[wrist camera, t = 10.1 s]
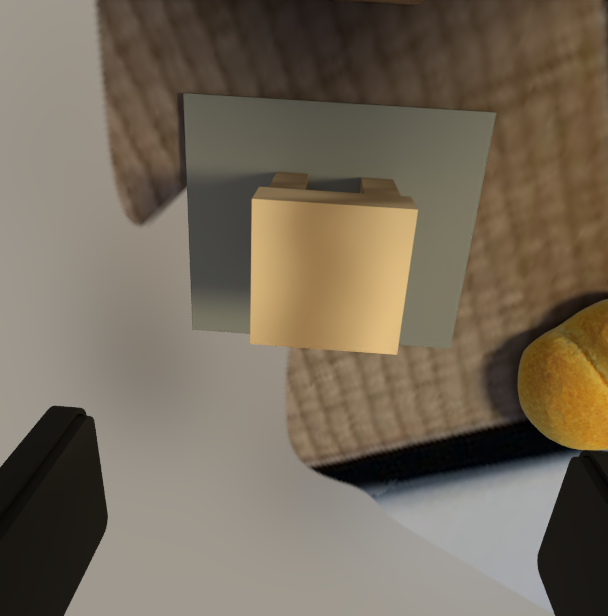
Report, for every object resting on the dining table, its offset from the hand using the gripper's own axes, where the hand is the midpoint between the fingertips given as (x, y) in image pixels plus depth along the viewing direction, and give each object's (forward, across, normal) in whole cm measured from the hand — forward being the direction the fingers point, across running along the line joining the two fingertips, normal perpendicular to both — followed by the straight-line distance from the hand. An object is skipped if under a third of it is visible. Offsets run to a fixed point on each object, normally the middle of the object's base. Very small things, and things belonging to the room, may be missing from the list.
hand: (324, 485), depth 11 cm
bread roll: (+18, -15, +7) cm, 25 cm away
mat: (+18, 0, 0) cm, 18 cm away
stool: (+17, 0, 0) cm, 17 cm away
